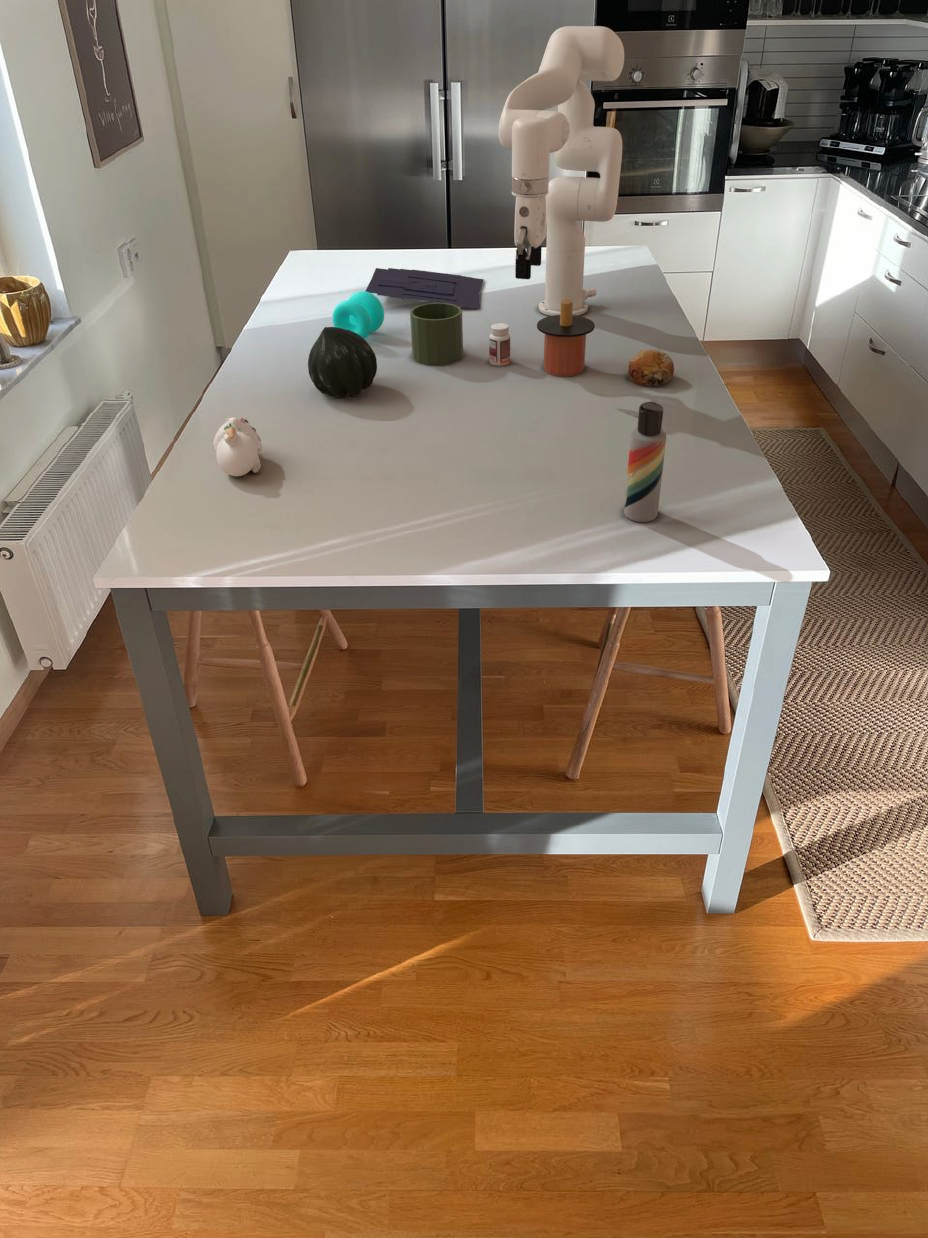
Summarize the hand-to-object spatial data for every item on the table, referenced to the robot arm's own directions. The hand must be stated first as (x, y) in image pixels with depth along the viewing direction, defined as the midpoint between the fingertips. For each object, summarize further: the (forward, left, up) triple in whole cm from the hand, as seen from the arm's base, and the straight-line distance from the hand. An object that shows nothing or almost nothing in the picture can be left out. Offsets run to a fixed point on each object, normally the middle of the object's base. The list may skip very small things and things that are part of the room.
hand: (528, 271), depth 204 cm
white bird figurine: (+73, +5, -21) cm, 76 cm away
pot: (+13, -17, -21) cm, 30 cm away
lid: (-5, +7, -11) cm, 14 cm away
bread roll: (-16, +23, -21) cm, 35 cm away
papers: (-9, -55, -21) cm, 60 cm away
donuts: (+21, -39, -21) cm, 49 cm away
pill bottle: (+4, -5, -21) cm, 22 cm away
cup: (-5, +7, -21) cm, 23 cm away
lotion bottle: (+26, +64, -21) cm, 72 cm away
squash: (+40, -13, -21) cm, 47 cm away
